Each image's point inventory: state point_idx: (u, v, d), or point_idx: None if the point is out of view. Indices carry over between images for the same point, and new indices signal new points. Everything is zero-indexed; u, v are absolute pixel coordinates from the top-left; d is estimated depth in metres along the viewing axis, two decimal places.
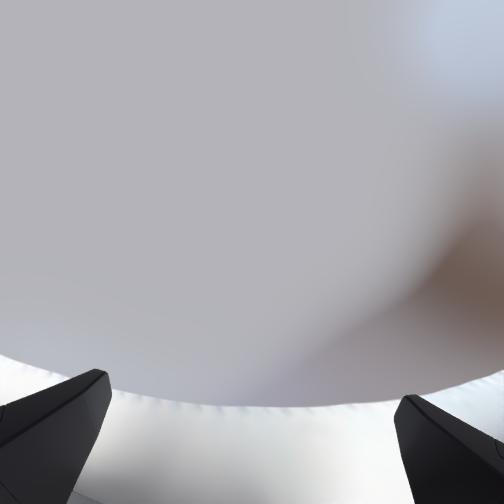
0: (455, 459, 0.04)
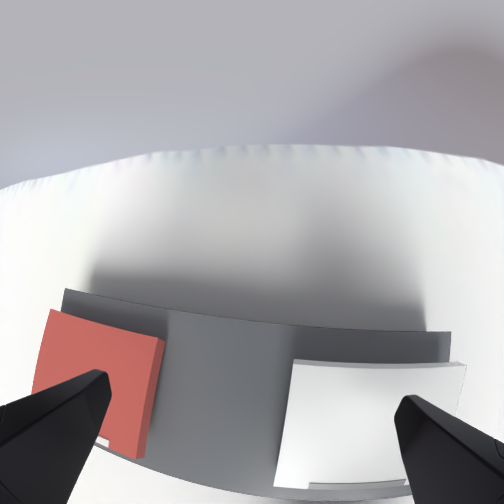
0: (455, 459, 0.04)
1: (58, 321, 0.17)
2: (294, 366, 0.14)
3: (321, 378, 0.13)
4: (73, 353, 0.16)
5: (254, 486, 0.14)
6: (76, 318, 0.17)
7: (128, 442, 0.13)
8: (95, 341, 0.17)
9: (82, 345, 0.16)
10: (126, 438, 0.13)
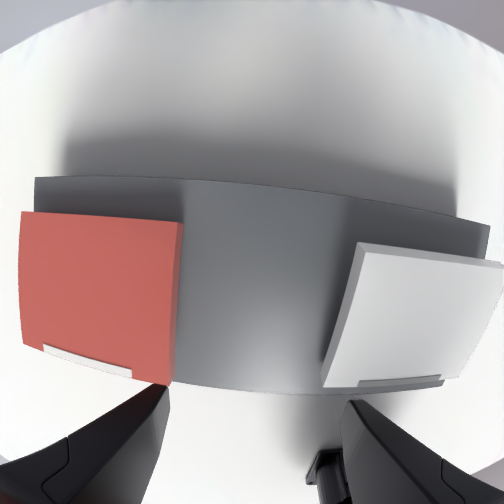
0: (391, 477, 0.04)
1: (34, 225, 0.13)
2: (366, 254, 0.11)
3: (392, 269, 0.12)
4: (61, 264, 0.13)
5: (295, 384, 0.16)
6: (57, 215, 0.13)
7: (156, 367, 0.13)
8: (89, 240, 0.13)
9: (72, 250, 0.13)
10: (153, 362, 0.13)
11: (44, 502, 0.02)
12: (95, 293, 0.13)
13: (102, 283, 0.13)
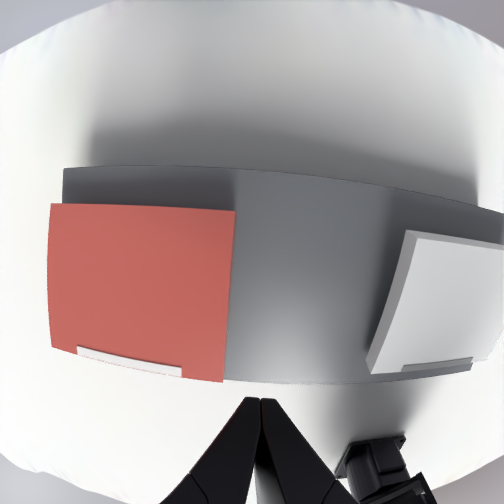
0: (272, 488, 0.04)
1: (67, 218, 0.13)
2: (417, 240, 0.11)
3: (438, 254, 0.11)
4: (101, 259, 0.13)
5: (339, 374, 0.16)
6: (95, 206, 0.13)
7: (210, 363, 0.13)
8: (134, 232, 0.13)
9: (113, 243, 0.13)
10: (206, 358, 0.13)
11: None
12: (141, 288, 0.13)
13: (150, 277, 0.13)
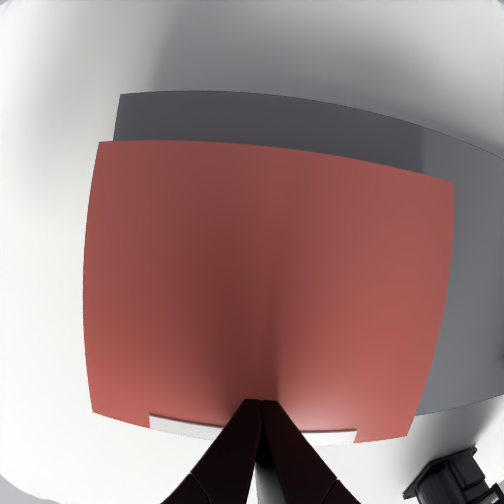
0: (273, 488, 0.04)
1: (136, 168, 0.07)
2: None
3: None
4: (220, 251, 0.07)
5: (476, 392, 0.10)
6: (209, 146, 0.07)
7: (400, 414, 0.07)
8: (300, 199, 0.07)
9: (253, 220, 0.07)
10: (397, 409, 0.07)
11: None
12: (311, 308, 0.07)
13: (331, 287, 0.07)
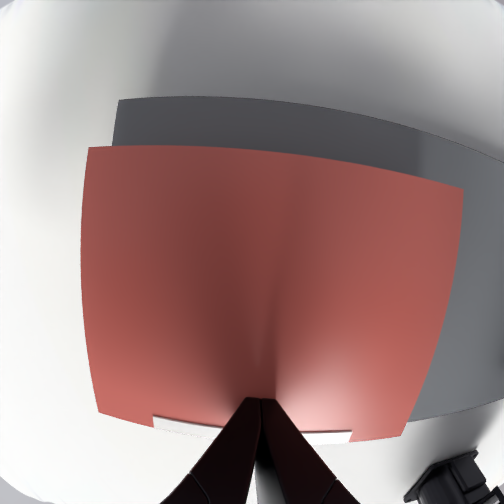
0: (273, 488, 0.04)
1: (128, 175, 0.06)
2: None
3: None
4: (217, 263, 0.07)
5: (476, 397, 0.10)
6: (203, 151, 0.06)
7: (394, 417, 0.07)
8: (301, 209, 0.06)
9: (251, 231, 0.06)
10: (392, 412, 0.07)
11: None
12: (309, 319, 0.07)
13: (331, 299, 0.07)
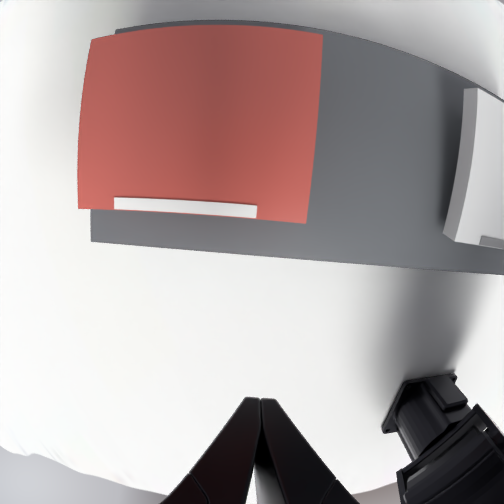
0: (272, 488, 0.04)
1: (113, 48, 0.09)
2: (478, 90, 0.09)
3: (495, 109, 0.09)
4: (158, 82, 0.10)
5: (417, 254, 0.14)
6: (153, 30, 0.09)
7: (293, 197, 0.11)
8: (204, 50, 0.09)
9: (177, 63, 0.09)
10: (289, 191, 0.11)
11: None
12: (211, 108, 0.10)
13: (224, 95, 0.10)
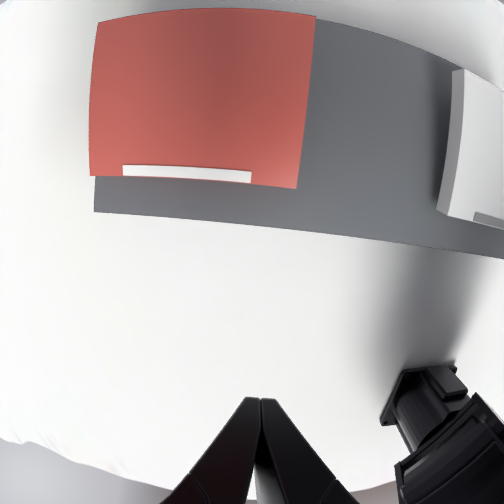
0: (272, 488, 0.04)
1: (119, 31, 0.09)
2: (465, 71, 0.09)
3: (483, 89, 0.09)
4: (161, 61, 0.10)
5: (411, 230, 0.14)
6: (156, 14, 0.09)
7: (284, 165, 0.12)
8: (204, 31, 0.09)
9: (178, 44, 0.10)
10: (281, 160, 0.12)
11: None
12: (210, 85, 0.11)
13: (222, 73, 0.10)
